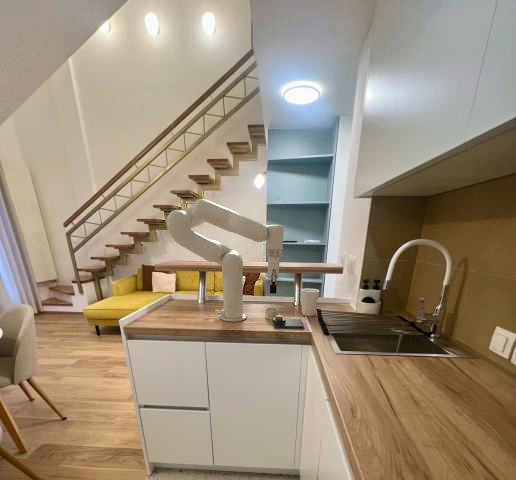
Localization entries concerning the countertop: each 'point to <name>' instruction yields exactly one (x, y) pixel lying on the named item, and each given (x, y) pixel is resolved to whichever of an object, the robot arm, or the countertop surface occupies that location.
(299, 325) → the scale
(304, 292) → the foam cup
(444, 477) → the countertop surface
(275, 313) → the bowl
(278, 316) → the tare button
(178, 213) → the robot arm
